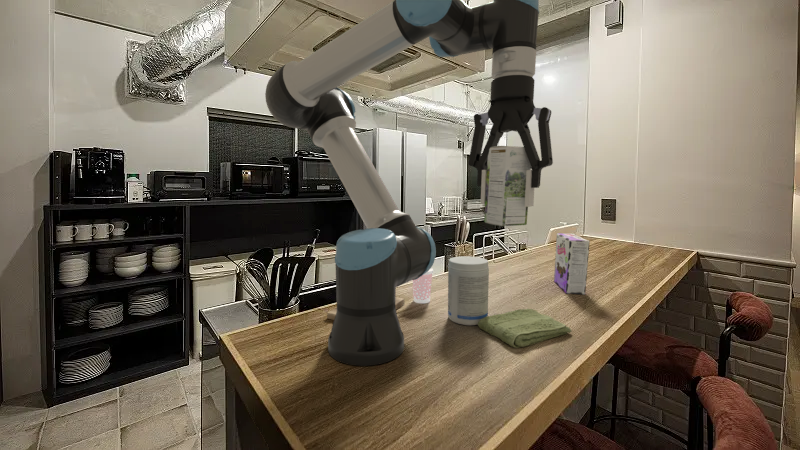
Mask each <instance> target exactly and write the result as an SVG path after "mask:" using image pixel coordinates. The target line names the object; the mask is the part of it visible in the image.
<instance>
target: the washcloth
mask: <svg viewBox="0 0 800 450" xmlns="http://www.w3.org/2000/svg"><path fill="white" fill-rule="evenodd" d="M477 327H478V328H479V329H480V330H482V331H484V332H486V333H488V334H490V336H491V337H492V336H494V337H496V338H498V339H500V340H501V342H503V343H506V344H507V345H509V347H511V348H514V349H515V348H516V349H519V348H525V347H527V346H532V345H535V344H539V343H542V342H544V341H546V340H547V341H548V340H549V339H550V340H551V339H553V338H556V337H559V336H564V335H567V334H568V333H569V334H570V333H572V332H573V331H572V329H571V328H570V327H569V326H566V324H565V323H563V322H560V321H559V320H556V319H554V317H551V316H550V315H548V314H542V313H540V311H537V310H536V309H533V308H520V309H516V310H512V311H508V312H504V313H501V314H500V313H498V314H493V315H489V316H487V317H484V318H483V319H481V320H480V321H479V322H478V325H477Z"/></svg>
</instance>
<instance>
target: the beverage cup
mask: <svg viewBox="0 0 800 450" xmlns="http://www.w3.org/2000/svg"><path fill="white" fill-rule="evenodd" d="M433 273H434V268H433V267H431V268H430V270H429V271H428V272H426V273H425V274H423V275H422V276H421V277H419V278H418V279H416V280H412V294H413V302H415V303H416V304H428V303H430V302H431V293H432V280H433Z"/></svg>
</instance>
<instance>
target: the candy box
mask: <svg viewBox="0 0 800 450" xmlns="http://www.w3.org/2000/svg"><path fill="white" fill-rule="evenodd" d="M555 240H556V243H555V259H554V260H555V261H554V274H553V275H554V276H553V281H554V283H555V284H556V285H557V286H558V287H559V288H560V289H561V290H562V291H563V292H564V293H565V294H568V295H569V294H571V295H583V296H584V295H586V290H587V279H588V267H589V266H588V264H589V253H590V243H591V242H590V240H588V239H586V238H583V237H581V236H579V235H577V234H576V233H567V232H566V233H565V232H564V233H561V232H560V233H559V232H558V233H556V239H555Z"/></svg>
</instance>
